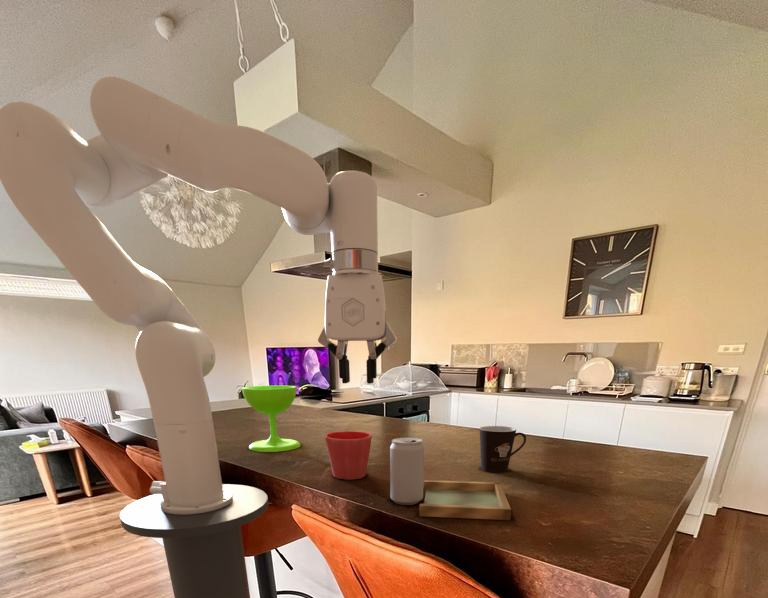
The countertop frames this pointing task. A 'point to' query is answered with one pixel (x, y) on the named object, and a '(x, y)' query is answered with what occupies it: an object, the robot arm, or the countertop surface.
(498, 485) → the wooden tray
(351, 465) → the flower pot
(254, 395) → the wineglass
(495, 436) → the coffee mug
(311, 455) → the countertop surface
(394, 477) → the beverage can
